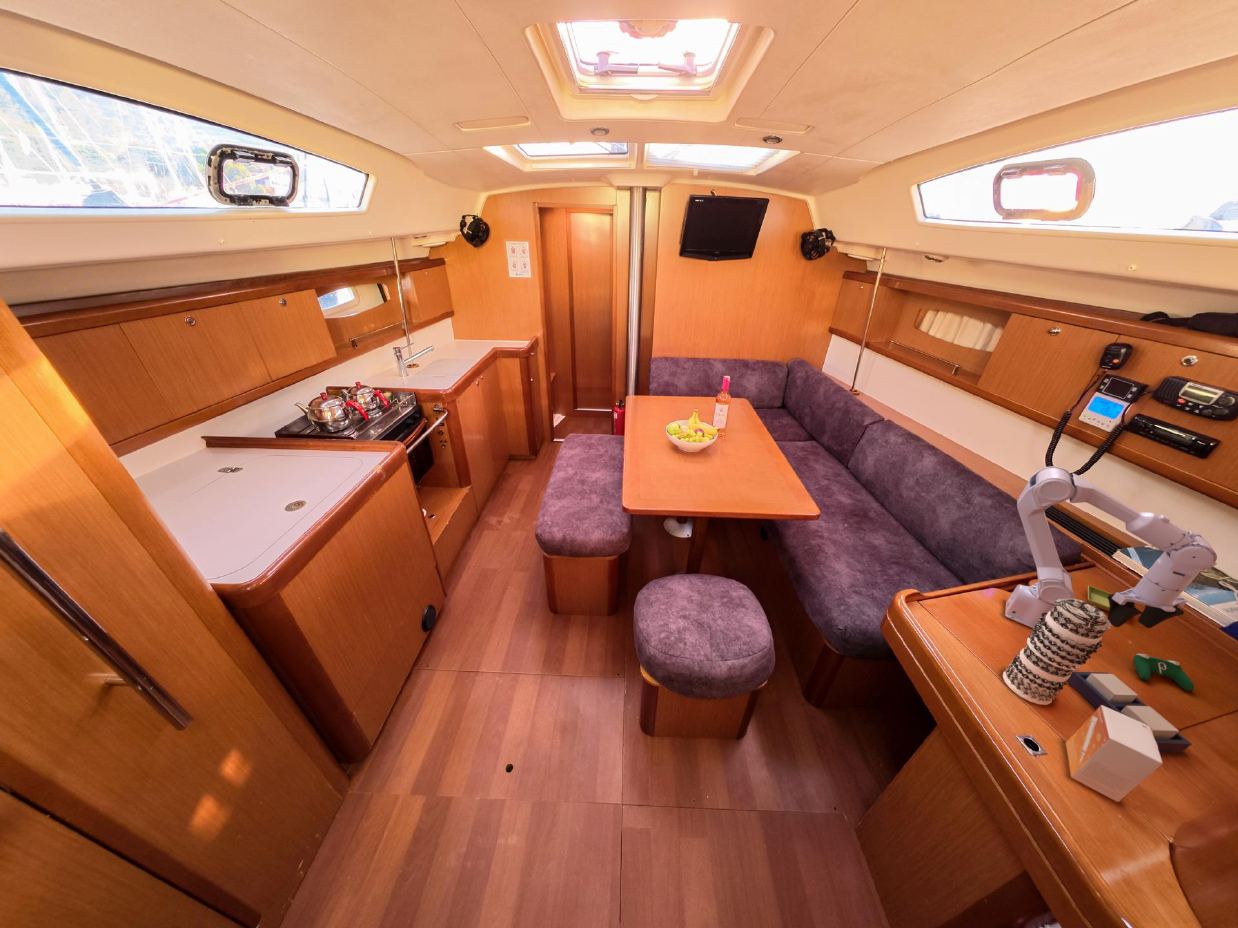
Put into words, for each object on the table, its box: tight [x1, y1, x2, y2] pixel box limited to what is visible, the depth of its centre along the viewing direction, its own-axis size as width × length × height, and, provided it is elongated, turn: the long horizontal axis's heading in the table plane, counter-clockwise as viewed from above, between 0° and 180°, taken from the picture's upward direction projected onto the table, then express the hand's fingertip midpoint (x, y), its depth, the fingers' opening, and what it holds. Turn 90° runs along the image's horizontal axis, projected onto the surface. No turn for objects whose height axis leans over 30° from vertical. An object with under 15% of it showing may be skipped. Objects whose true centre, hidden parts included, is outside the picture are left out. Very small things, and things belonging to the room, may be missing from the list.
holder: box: [1067, 671, 1193, 754], centre depth 86 cm, size 8×15×3 cm, turn 179°
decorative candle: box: [1002, 598, 1112, 706], centre depth 86 cm, size 9×9×25 cm
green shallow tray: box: [1087, 585, 1112, 612], centre depth 115 cm, size 9×9×2 cm
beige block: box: [1121, 705, 1180, 739], centre depth 82 cm, size 5×5×4 cm
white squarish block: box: [1086, 673, 1139, 703], centre depth 88 cm, size 5×5×4 cm
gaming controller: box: [1132, 653, 1195, 692], centre depth 94 cm, size 9×4×6 cm
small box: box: [1065, 705, 1164, 803], centre depth 73 cm, size 8×6×13 cm
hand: (1128, 624), depth 97 cm, fingers open, 7 cm apart
